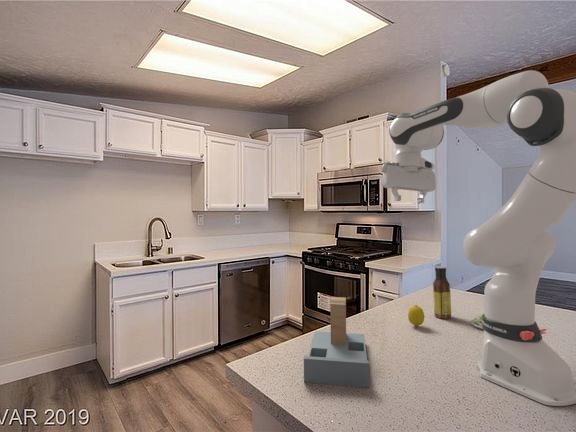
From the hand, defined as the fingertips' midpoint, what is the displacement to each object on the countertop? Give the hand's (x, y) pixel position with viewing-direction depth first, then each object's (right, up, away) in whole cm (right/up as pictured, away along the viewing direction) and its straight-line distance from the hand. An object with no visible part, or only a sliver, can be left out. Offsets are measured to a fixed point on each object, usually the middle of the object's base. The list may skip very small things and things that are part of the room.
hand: (409, 201), depth 115 cm
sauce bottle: (+18, -45, +14) cm, 51 cm away
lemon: (+4, -46, +4) cm, 46 cm away
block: (-27, -43, -13) cm, 53 cm away
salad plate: (+34, -46, +3) cm, 57 cm away
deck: (-29, -47, -21) cm, 59 cm away
